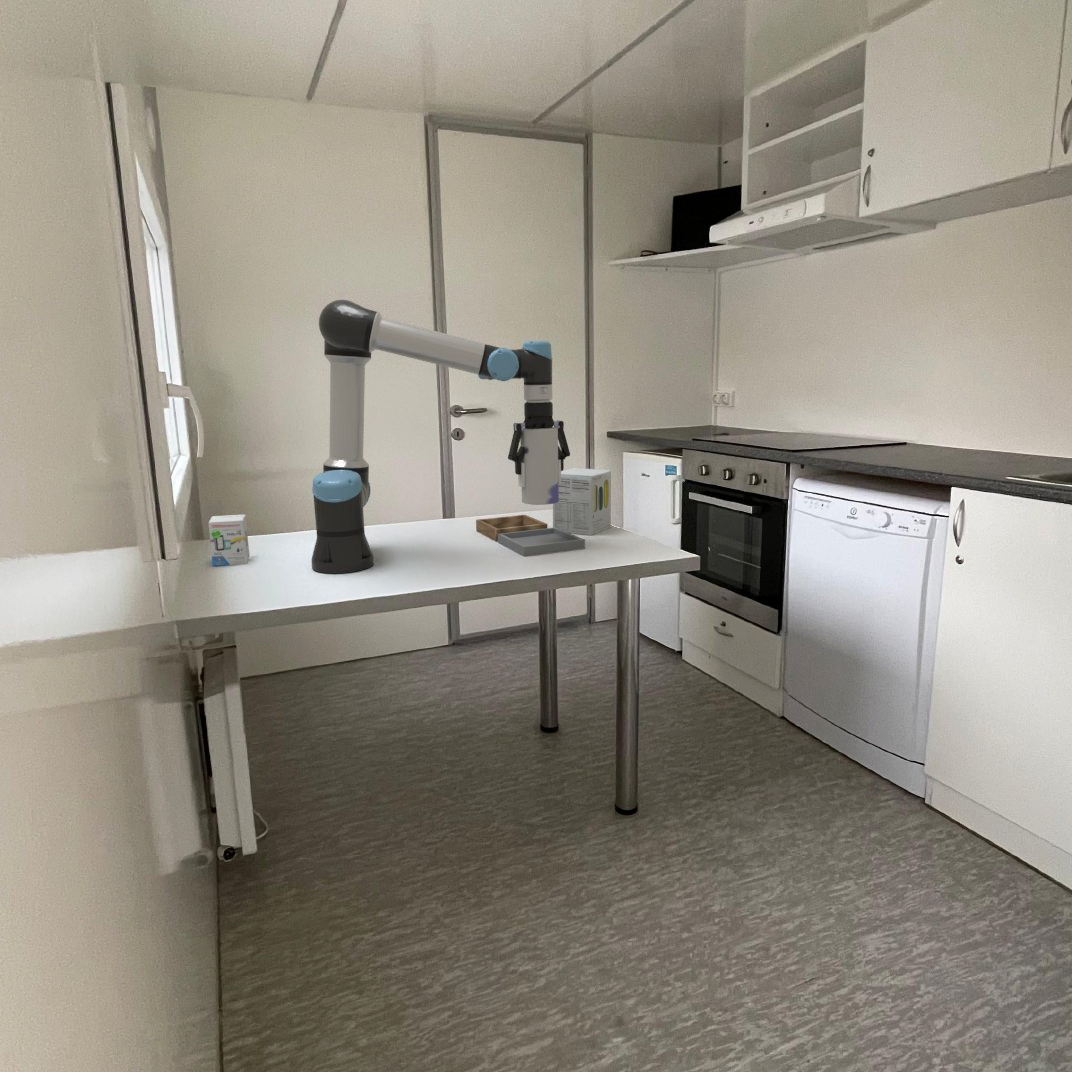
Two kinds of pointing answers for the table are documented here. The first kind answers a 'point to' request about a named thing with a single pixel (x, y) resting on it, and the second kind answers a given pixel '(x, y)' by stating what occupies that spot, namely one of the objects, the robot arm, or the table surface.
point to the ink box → (229, 540)
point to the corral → (507, 525)
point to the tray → (541, 541)
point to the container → (540, 466)
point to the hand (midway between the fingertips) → (539, 484)
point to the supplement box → (583, 501)
